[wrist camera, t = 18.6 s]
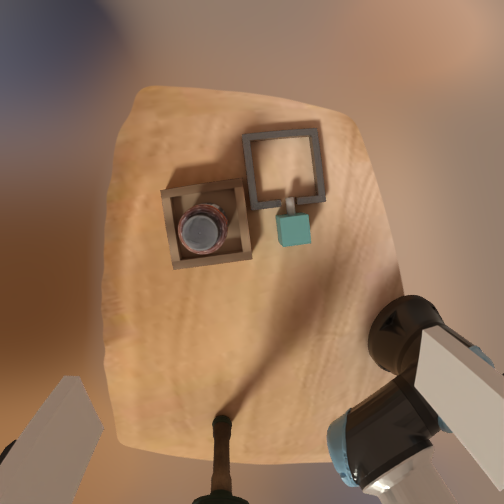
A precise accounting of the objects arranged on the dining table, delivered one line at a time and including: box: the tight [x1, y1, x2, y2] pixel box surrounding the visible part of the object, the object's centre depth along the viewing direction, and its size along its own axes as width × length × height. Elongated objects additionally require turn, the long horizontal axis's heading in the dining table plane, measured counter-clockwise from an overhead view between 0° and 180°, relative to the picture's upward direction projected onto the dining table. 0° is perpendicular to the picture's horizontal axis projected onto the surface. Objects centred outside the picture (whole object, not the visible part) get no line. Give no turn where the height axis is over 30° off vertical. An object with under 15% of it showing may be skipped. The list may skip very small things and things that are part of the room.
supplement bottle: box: [178, 203, 228, 254], centre depth 39 cm, size 6×6×11 cm
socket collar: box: [242, 128, 326, 210], centre depth 43 cm, size 11×11×2 cm
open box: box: [160, 178, 252, 270], centre depth 44 cm, size 11×11×3 cm
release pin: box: [276, 197, 311, 247], centre depth 44 cm, size 6×4×4 cm, turn 7°
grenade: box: [192, 416, 249, 504], centre depth 38 cm, size 8×9×30 cm
